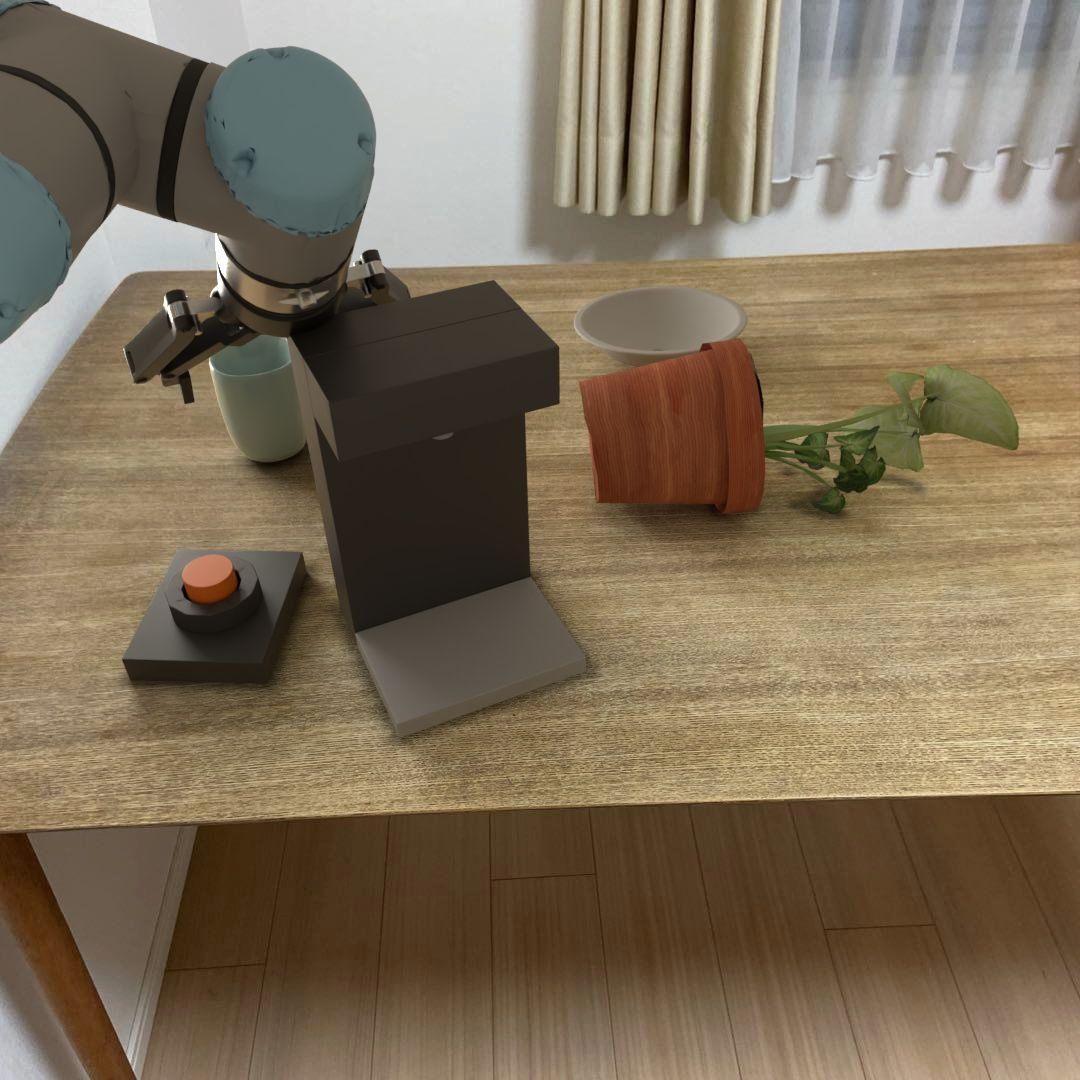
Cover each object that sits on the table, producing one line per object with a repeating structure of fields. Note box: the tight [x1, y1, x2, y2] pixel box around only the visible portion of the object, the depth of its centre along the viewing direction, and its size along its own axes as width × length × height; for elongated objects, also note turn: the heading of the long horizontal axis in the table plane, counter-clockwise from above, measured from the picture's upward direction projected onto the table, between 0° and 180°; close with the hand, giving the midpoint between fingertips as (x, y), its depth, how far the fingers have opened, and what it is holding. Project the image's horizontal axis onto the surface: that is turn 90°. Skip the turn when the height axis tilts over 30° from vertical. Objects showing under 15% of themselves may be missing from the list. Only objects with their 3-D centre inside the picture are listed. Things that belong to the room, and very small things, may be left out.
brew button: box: [182, 555, 238, 604], centre depth 74 cm, size 4×4×2 cm
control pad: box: [121, 548, 308, 685], centre depth 76 cm, size 10×12×4 cm
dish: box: [573, 285, 748, 367], centre depth 104 cm, size 18×14×5 cm
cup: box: [208, 335, 307, 463], centre depth 91 cm, size 8×8×10 cm
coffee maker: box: [287, 279, 587, 739], centre depth 67 cm, size 14×14×24 cm
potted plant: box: [578, 338, 1020, 515], centre depth 84 cm, size 16×15×35 cm
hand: (273, 366), depth 79 cm, fingers open, 13 cm apart
